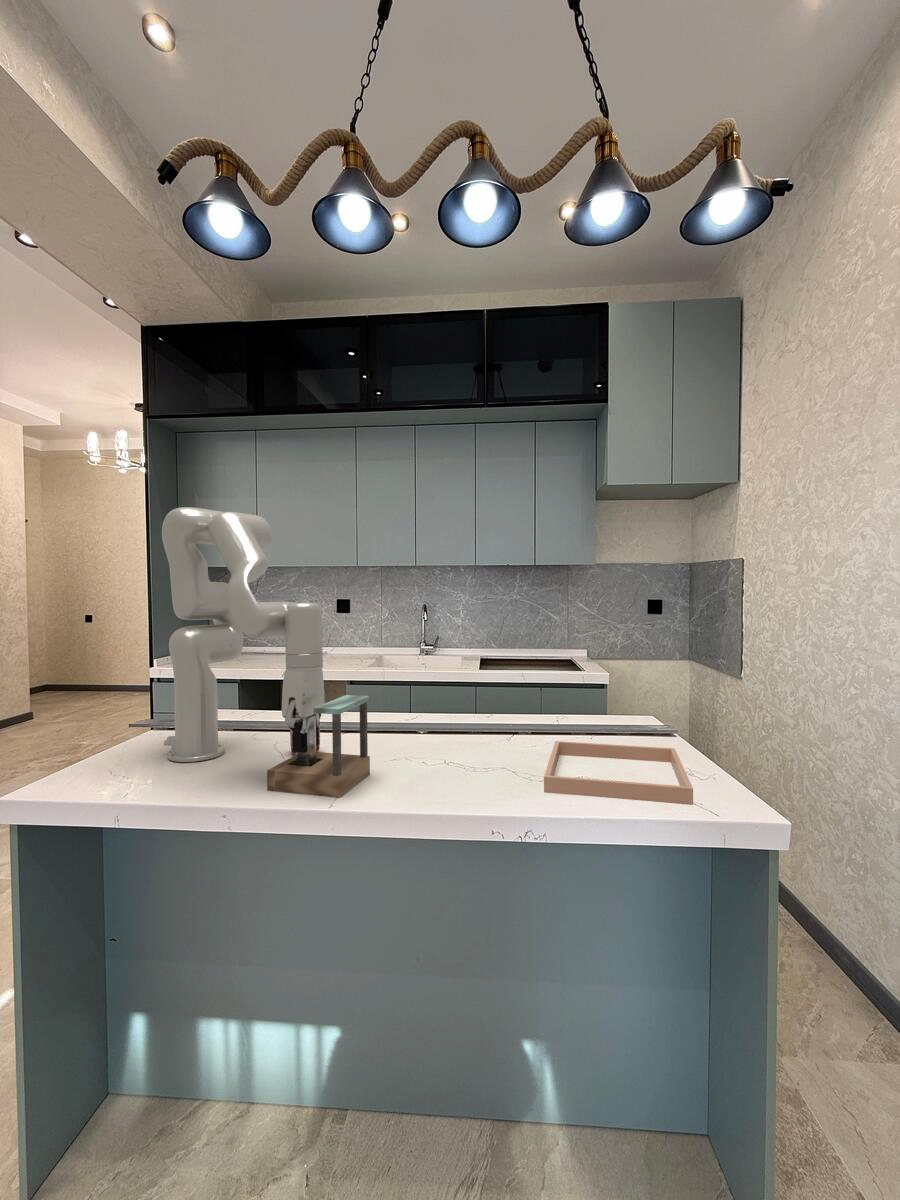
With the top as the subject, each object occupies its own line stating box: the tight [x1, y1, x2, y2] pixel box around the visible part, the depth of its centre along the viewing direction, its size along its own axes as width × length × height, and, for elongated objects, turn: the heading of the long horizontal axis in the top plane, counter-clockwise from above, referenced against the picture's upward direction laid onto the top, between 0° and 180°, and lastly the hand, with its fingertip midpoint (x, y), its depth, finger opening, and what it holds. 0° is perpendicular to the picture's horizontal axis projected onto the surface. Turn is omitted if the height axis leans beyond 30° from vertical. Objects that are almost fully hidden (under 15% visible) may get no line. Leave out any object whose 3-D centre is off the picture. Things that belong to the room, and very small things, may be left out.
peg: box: [296, 715, 317, 766], centre depth 116 cm, size 4×4×10 cm
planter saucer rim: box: [543, 740, 694, 806], centre depth 118 cm, size 27×27×3 cm
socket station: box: [266, 694, 371, 798], centre depth 115 cm, size 16×14×17 cm
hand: (306, 748), depth 116 cm, fingers closed on peg, 4 cm apart
